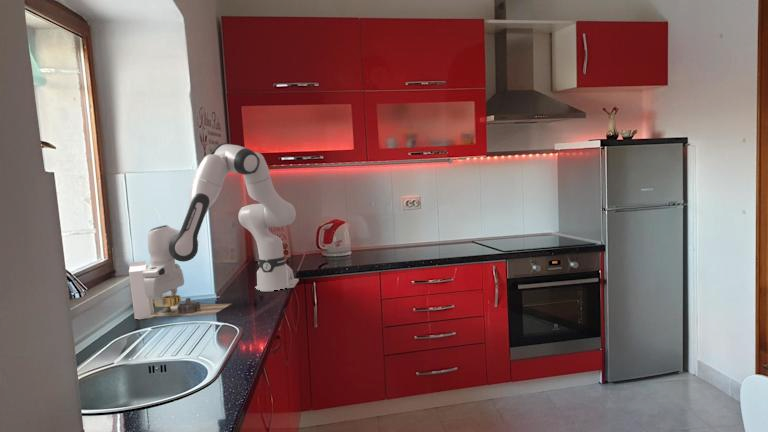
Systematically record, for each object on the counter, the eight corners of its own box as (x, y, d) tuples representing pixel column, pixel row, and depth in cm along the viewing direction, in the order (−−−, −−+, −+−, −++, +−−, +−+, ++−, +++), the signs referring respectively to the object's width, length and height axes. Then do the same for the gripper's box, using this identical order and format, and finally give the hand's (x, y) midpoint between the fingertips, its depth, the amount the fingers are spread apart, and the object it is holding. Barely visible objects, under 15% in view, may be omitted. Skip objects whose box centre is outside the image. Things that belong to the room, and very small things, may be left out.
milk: (151, 317, 199) (144, 262, 197) (134, 320, 198) (127, 264, 196) (154, 313, 205) (147, 259, 203) (137, 316, 204) (131, 261, 202)
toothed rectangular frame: (163, 302, 204) (162, 295, 204) (181, 302, 202) (181, 294, 202) (154, 307, 198) (153, 299, 198) (172, 306, 196) (171, 298, 196)
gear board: (172, 308, 211) (170, 293, 210) (232, 307, 205) (230, 291, 205) (148, 320, 196) (146, 303, 196) (213, 318, 191) (211, 301, 190)
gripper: (171, 262, 210) (176, 296, 211) (139, 273, 190) (143, 310, 191) (185, 262, 208) (189, 295, 210) (154, 273, 188) (159, 309, 190)
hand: (167, 302), depth 200 cm, fingers closed on toothed rectangular frame, 6 cm apart
